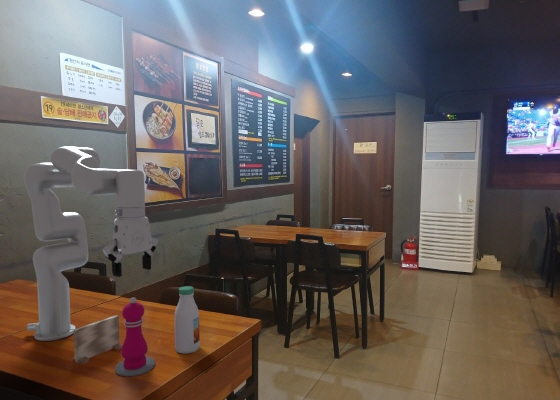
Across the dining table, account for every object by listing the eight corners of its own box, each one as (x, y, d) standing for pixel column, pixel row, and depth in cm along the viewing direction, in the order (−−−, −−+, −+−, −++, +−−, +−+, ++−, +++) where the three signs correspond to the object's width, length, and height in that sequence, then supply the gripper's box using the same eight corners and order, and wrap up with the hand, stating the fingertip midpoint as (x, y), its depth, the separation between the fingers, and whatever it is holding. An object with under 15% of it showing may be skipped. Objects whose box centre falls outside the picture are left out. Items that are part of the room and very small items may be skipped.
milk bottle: (187, 356, 119) (186, 292, 118) (169, 350, 123) (168, 289, 122) (204, 347, 126) (203, 286, 124) (187, 341, 130) (186, 283, 128)
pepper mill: (139, 372, 109) (137, 302, 107) (116, 369, 110) (114, 300, 109) (152, 360, 116) (150, 294, 115) (131, 357, 117) (129, 293, 116)
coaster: (110, 378, 107) (110, 376, 107) (119, 359, 117) (119, 357, 117) (152, 374, 109) (152, 372, 109) (157, 356, 119) (157, 354, 119)
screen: (80, 364, 114) (79, 331, 114) (71, 360, 117) (70, 327, 116) (123, 347, 126) (122, 317, 125) (114, 343, 129) (113, 314, 128)
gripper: (110, 216, 101) (112, 281, 102) (164, 211, 115) (165, 268, 116) (94, 215, 105) (96, 277, 106) (148, 210, 119) (149, 264, 120)
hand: (132, 272), depth 111 cm, fingers open, 9 cm apart
